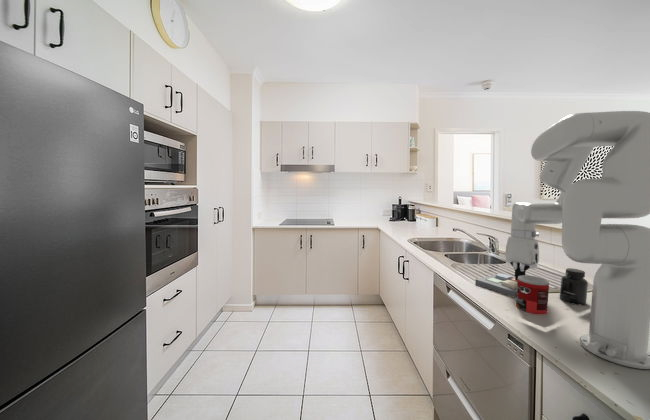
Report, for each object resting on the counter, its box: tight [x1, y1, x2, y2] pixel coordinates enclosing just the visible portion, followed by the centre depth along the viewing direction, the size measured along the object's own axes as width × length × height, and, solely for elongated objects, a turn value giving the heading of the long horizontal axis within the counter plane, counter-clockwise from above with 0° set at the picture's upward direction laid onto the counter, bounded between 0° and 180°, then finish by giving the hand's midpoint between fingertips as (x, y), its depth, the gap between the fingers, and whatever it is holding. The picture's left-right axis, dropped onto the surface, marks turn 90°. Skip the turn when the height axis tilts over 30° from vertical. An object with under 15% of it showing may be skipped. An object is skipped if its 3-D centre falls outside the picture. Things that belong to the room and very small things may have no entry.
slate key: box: [495, 272, 514, 281], centre depth 109 cm, size 4×4×2 cm
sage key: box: [486, 278, 502, 284], centre depth 106 cm, size 4×4×2 cm
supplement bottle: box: [558, 267, 589, 306], centre depth 91 cm, size 7×7×12 cm
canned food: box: [515, 274, 550, 316], centre depth 85 cm, size 8×8×11 cm
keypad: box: [475, 272, 517, 298], centre depth 105 cm, size 17×15×3 cm
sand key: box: [502, 280, 517, 289], centre depth 101 cm, size 4×4×2 cm
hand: (519, 279), depth 103 cm, fingers closed
